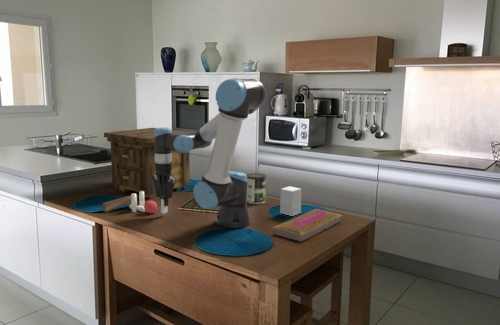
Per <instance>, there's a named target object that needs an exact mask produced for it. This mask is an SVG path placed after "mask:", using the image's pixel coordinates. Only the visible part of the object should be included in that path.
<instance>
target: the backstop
mask: <svg viewBox="0 0 500 325" xmlns="http://www.w3.org/2000/svg"><path fill="white" fill-rule="evenodd" d="M136 197H137V203H138V202H139V201H138V199H139V198H138V194H136ZM129 203H131V195H127V196H123V197H120V198H116V199H113V200H109V201H105V202H102V211H103V212H105V213H107V212H110V211H112V210H111V209H113V208H116V207H119V206H123V205H126V204H129Z"/></svg>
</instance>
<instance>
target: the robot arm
mask: <svg viewBox="0 0 500 325" xmlns="http://www.w3.org/2000/svg"><path fill="white" fill-rule="evenodd" d="M216 89H217V90H216V92H215V101H216V105H217V106H218V109H217V111H218V113H217V114H216V115H215V116H214V117H213V118H211V119H210V120H209V121H208V122H206V123H205V124H204V125H203V126H202V127H200V128H199V129H197V131H195V132H193V131H192V132H193V133H186V134H172V132H171V130H172V128H170V127H155V128H156V129H155V130H154V147H155V162H156V163H155V171H156V175H154V176H152V179H153V182H154V187H155V192H156V197H157V198H159V205H160V213H161V214H166V213H168V206H169V199H172V198H173V193H174V189H173V188H174V183H175V181H176V179H175V178H173V177H172V174H171V170H172V163H171V161H172V151H176V152H180V153H183V152H184V153H187V152H189V153H190V152H191V151H192V150H199V149H205V148H209V147H210V146H211V145H212V143H213V141H214V143H213V147H212V151H211V155H210V160H209V163H208V164H209V165H208V166H207V167H208V168H207V170H205V171H204V172H203V174H202V177H201V180H200V181H198V182H197V183H195V185H194V186H193V189H192V190H193V191H192V193H193V197H194V199H195V201H196V204H198V206H199V207H201V208H202V209H204V210H205V209H206V210H211V209H215V208H217V207H219V209H218V211H217V215H216V222H215V223H216V225H217V226H220V227H222V228H226V229H241V228H245V227H248V226H250V224H251V216H250V212H249V209H248V203H247V183H248V182H247V173H245V172H241V171H233V170H231V166H232V162H233V159H234V154H235V151H236V147H237V144H238V139H239V136H240V132H241V128H242V124H243V121H245V120H246V119H248V117H249V115H252V114H253V113H254V112H256V111H257V110H258V109H260V108H261V107H262V106H263V105H264V103H265V102H266V99H267V89H266V86H264V84H263V83H262V82H261V81H259V80H258V79H254V78H251V79H250V78H235V77H234V78H229V79H226V80H224V81H222V82H221V83H220V84H219V85H218V87H217V88H216Z"/></svg>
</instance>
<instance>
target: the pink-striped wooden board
mask: <svg viewBox="0 0 500 325" xmlns="http://www.w3.org/2000/svg"><path fill="white" fill-rule="evenodd" d="M343 216H344V214H340V213H337V212H331V211H328V210H323V209H319V208H315V209H312V210H310V211H308V212H306V213H302V214H300V215H297V217H296V216H295V217H293V218H291V219H290V220H287V221H285V222H281V223H280V224H278V225H275V226H273V227H272V229H274V234H275V235H276V236H279V237H283V238H287V239H290V240H293V239H294V241H296V240H297V242H300V241H302V242H303V240H304V241H305V240H307V239H309V238H312V237H314V236H315V235H317V234H319V233H321V232H323V231H325V230H327V229H329V228H330V227H333V226H335V225H336V224H338V223H340V222H341V217H343ZM314 222H315V223H314ZM324 229H325V230H324Z"/></svg>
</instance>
